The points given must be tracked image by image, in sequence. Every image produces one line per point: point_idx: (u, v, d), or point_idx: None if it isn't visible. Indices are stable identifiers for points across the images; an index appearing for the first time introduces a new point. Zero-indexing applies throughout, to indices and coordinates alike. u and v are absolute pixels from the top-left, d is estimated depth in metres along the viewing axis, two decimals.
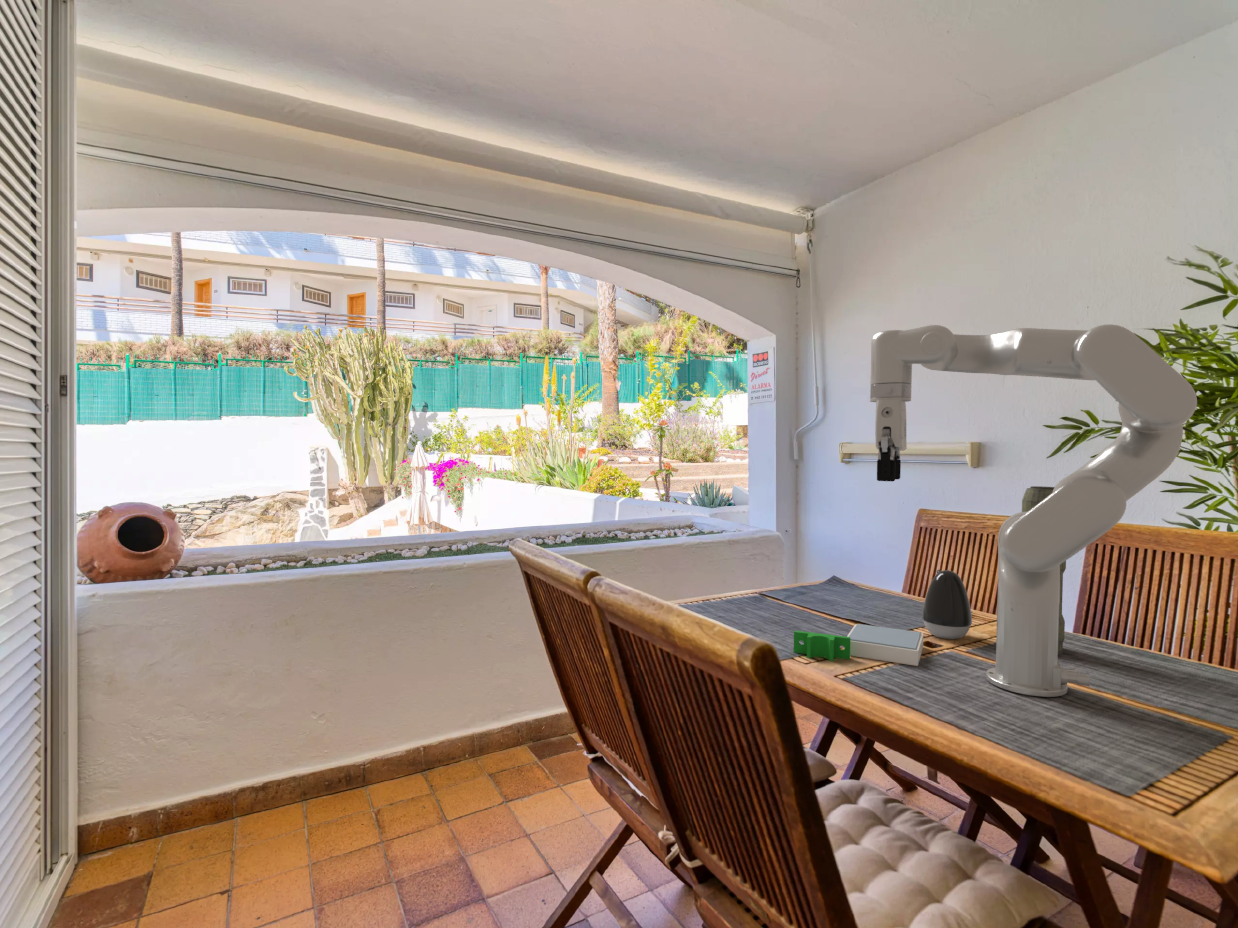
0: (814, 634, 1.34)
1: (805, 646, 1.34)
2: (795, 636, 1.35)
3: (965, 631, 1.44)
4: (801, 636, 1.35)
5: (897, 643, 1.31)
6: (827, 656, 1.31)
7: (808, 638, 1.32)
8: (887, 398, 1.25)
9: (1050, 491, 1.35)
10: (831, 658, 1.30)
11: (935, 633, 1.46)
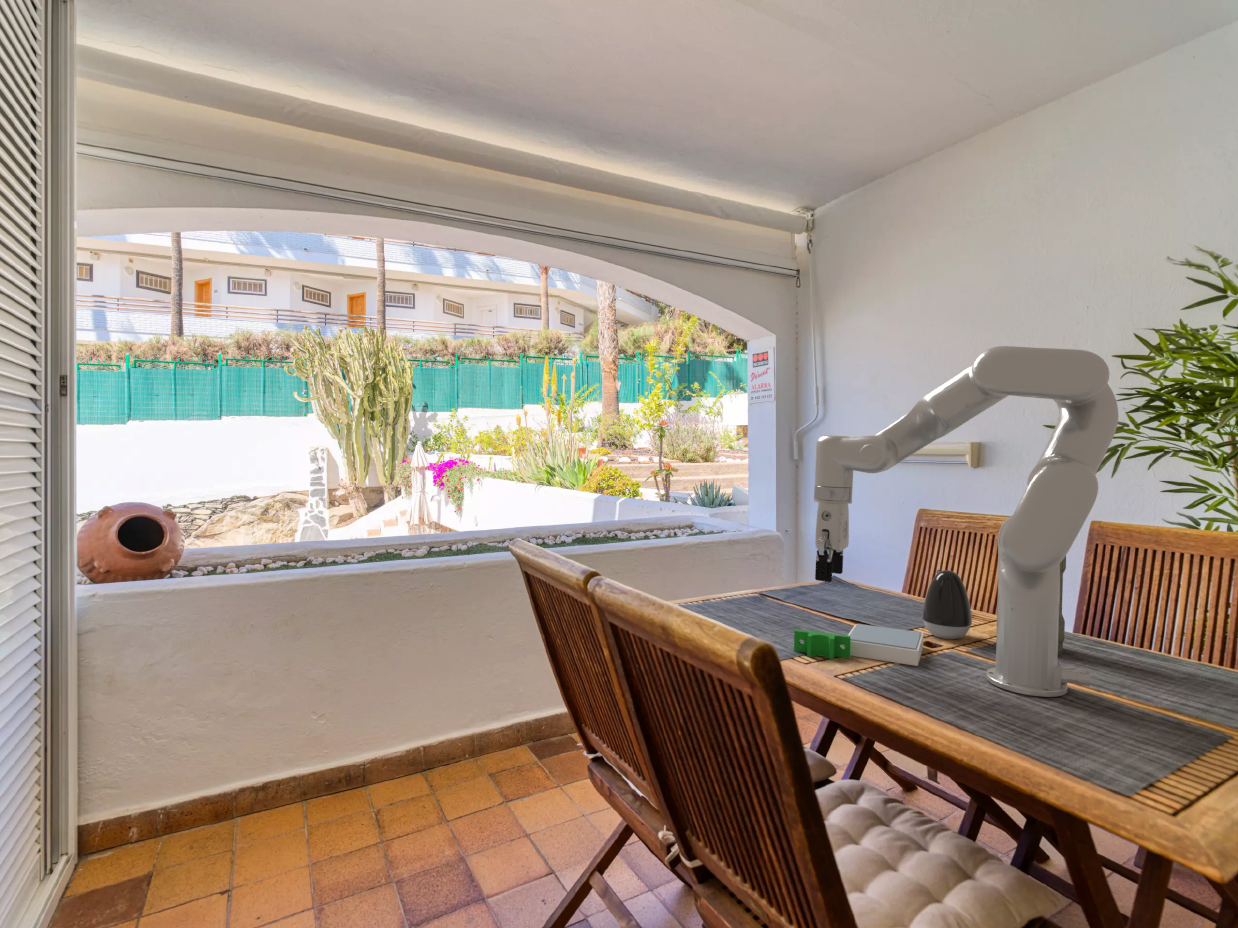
0: (814, 633, 1.34)
1: (805, 645, 1.35)
2: (795, 635, 1.36)
3: (965, 631, 1.44)
4: (802, 635, 1.35)
5: (897, 643, 1.31)
6: (827, 655, 1.32)
7: (808, 637, 1.32)
8: (827, 501, 1.30)
9: None
10: (831, 657, 1.31)
11: (935, 633, 1.46)
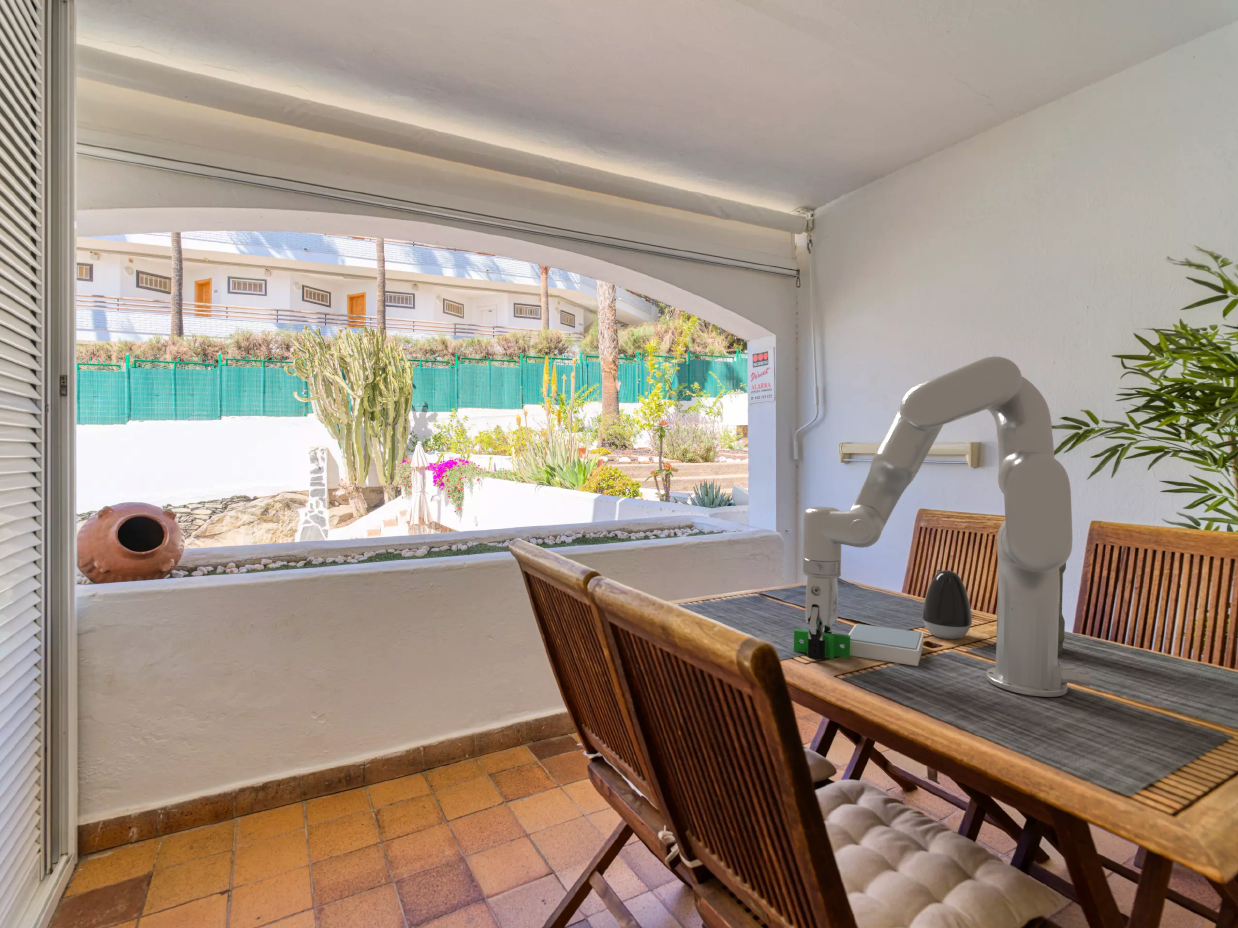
0: None
1: (805, 645, 1.35)
2: (795, 635, 1.36)
3: (965, 631, 1.44)
4: (802, 635, 1.35)
5: (897, 643, 1.31)
6: (827, 654, 1.32)
7: None
8: (816, 575, 1.29)
9: None
10: (831, 657, 1.31)
11: (935, 633, 1.46)
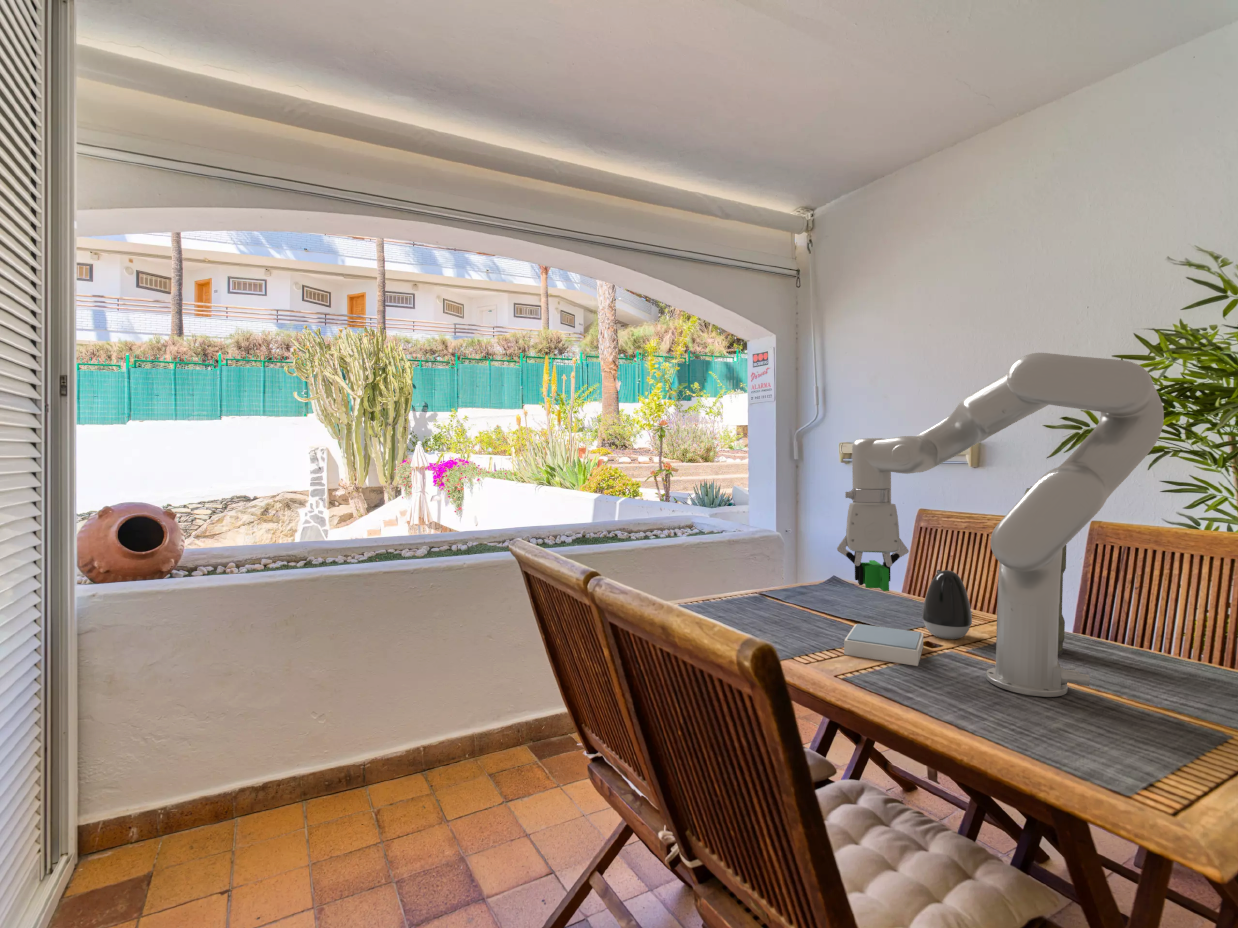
0: (873, 563, 1.36)
1: None
2: None
3: (965, 631, 1.44)
4: None
5: (897, 643, 1.31)
6: None
7: None
8: None
9: None
10: (865, 584, 1.33)
11: (935, 633, 1.46)
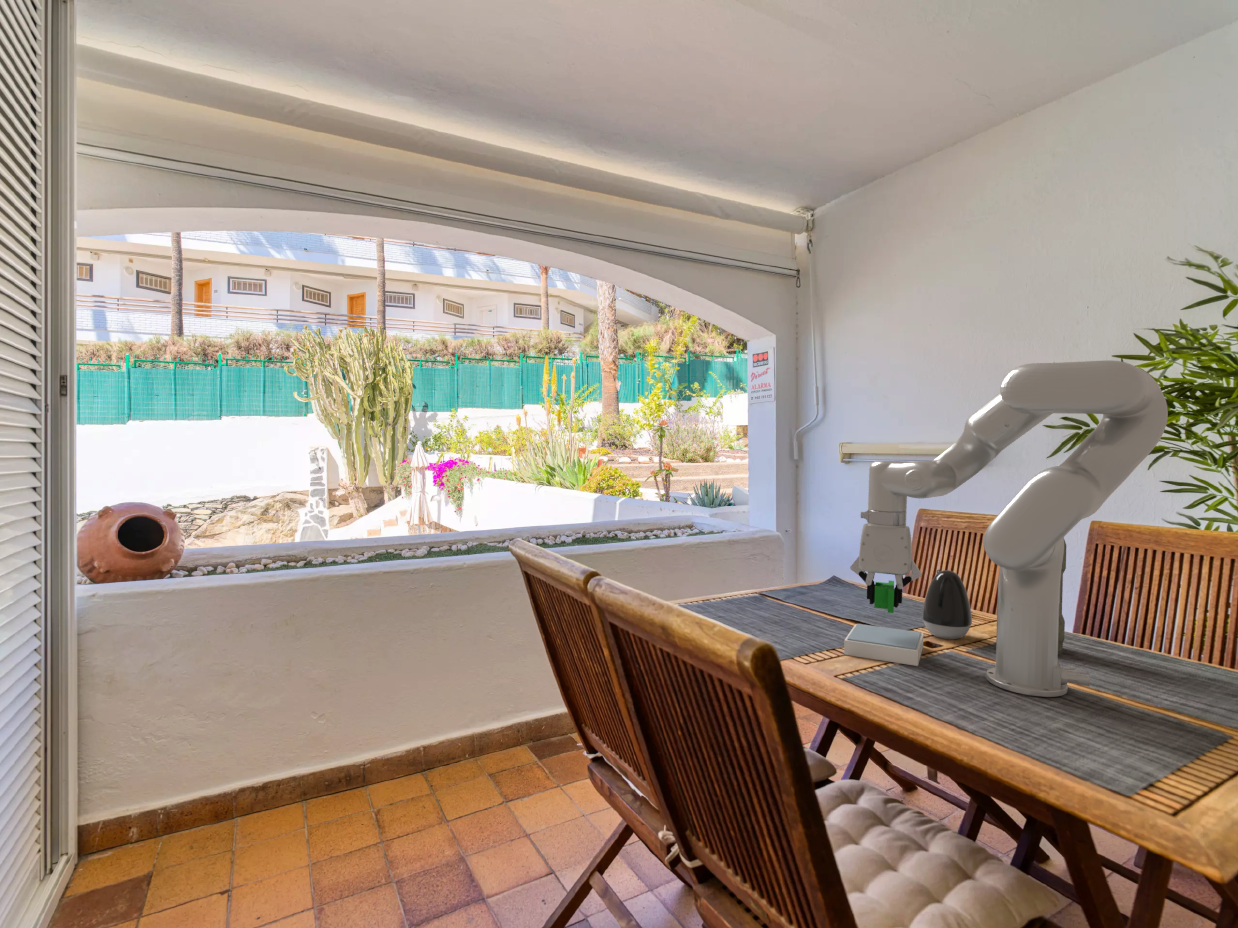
0: (887, 584, 1.38)
1: None
2: None
3: (965, 631, 1.44)
4: None
5: (897, 643, 1.31)
6: None
7: None
8: None
9: None
10: None
11: (935, 633, 1.46)
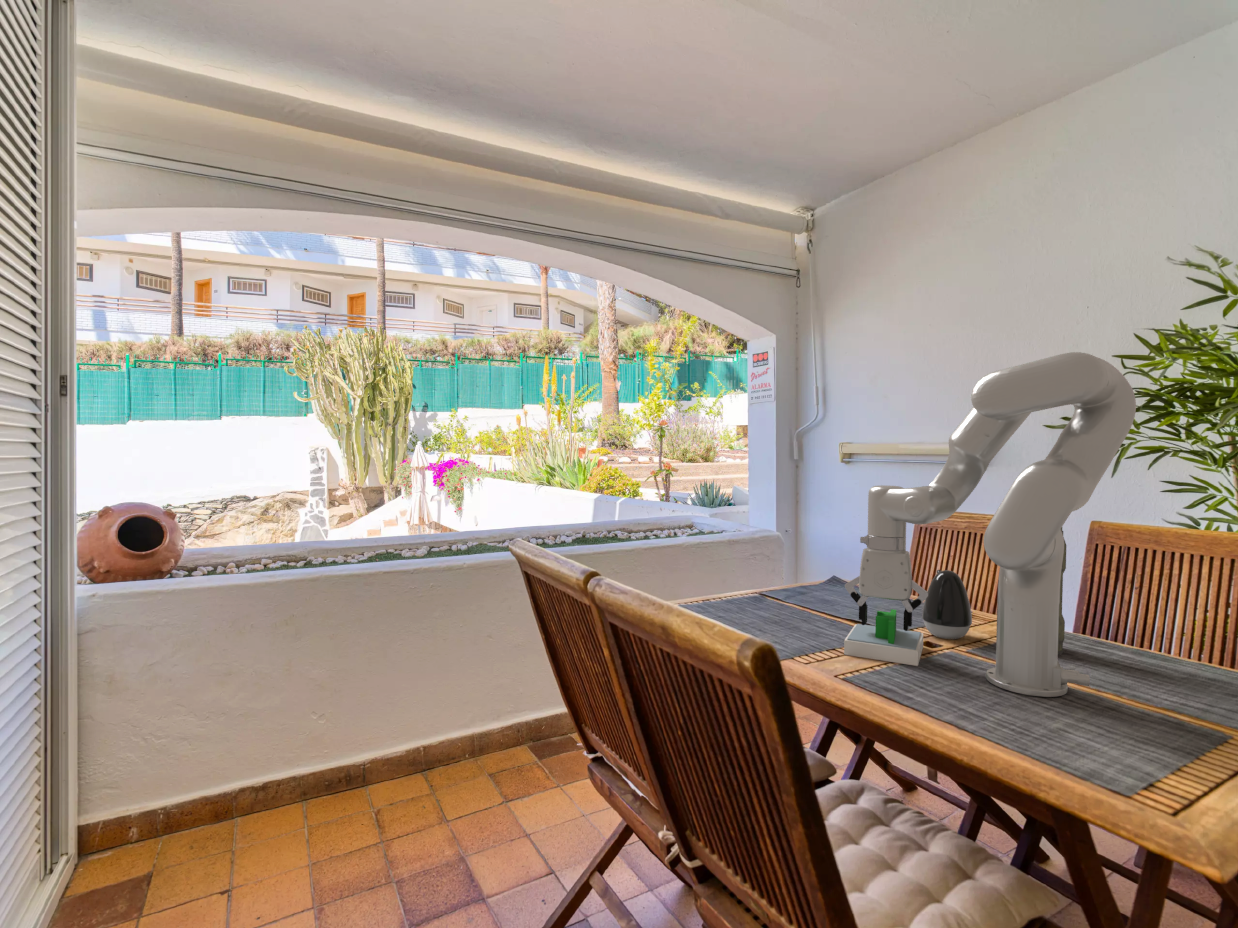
0: (889, 613, 1.37)
1: None
2: None
3: (965, 631, 1.44)
4: None
5: (897, 643, 1.31)
6: None
7: (877, 612, 1.39)
8: None
9: None
10: None
11: (935, 633, 1.46)
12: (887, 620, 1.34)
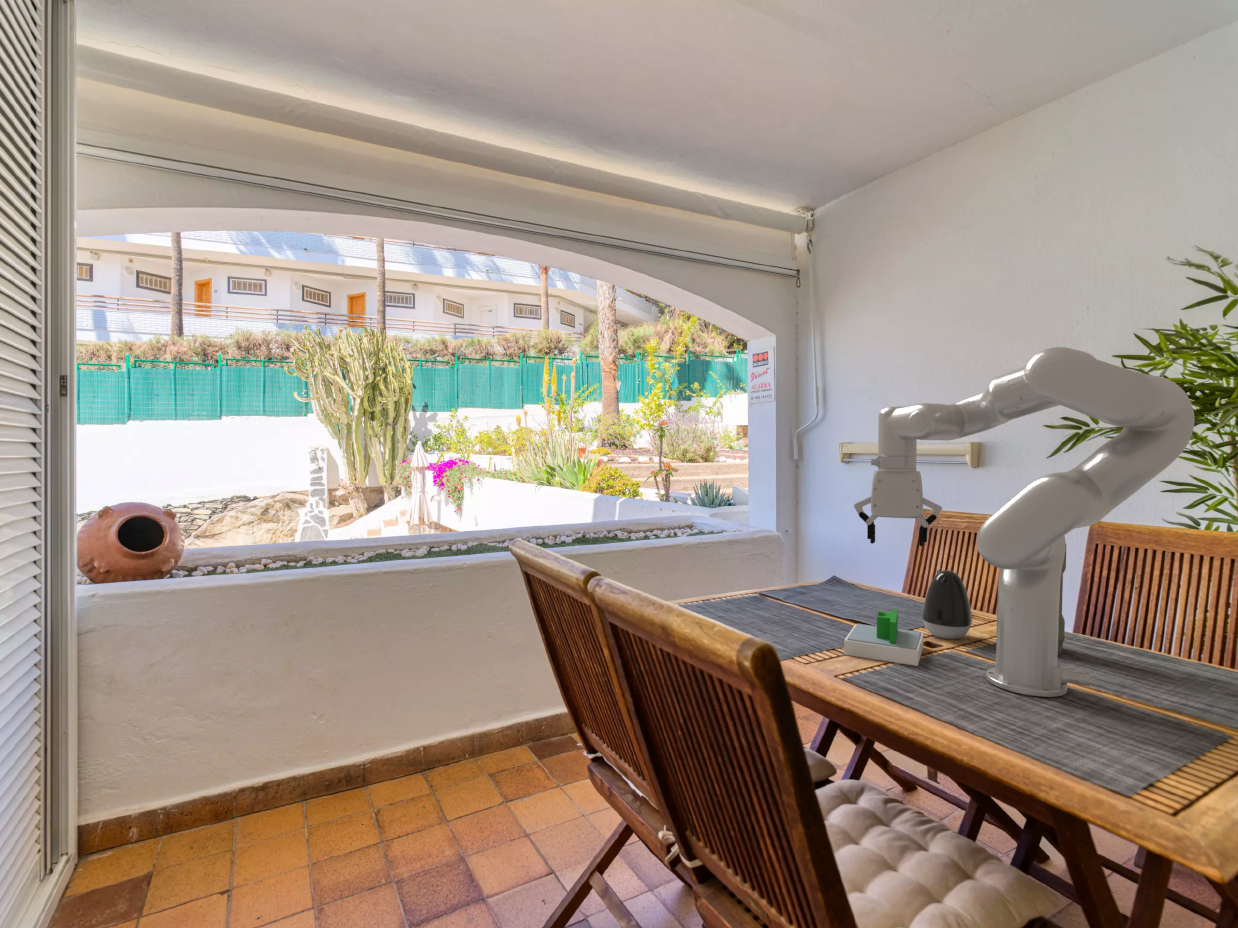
0: (890, 613, 1.37)
1: None
2: None
3: (965, 631, 1.44)
4: None
5: (897, 643, 1.31)
6: None
7: None
8: None
9: None
10: None
11: (935, 633, 1.46)
12: (888, 620, 1.34)
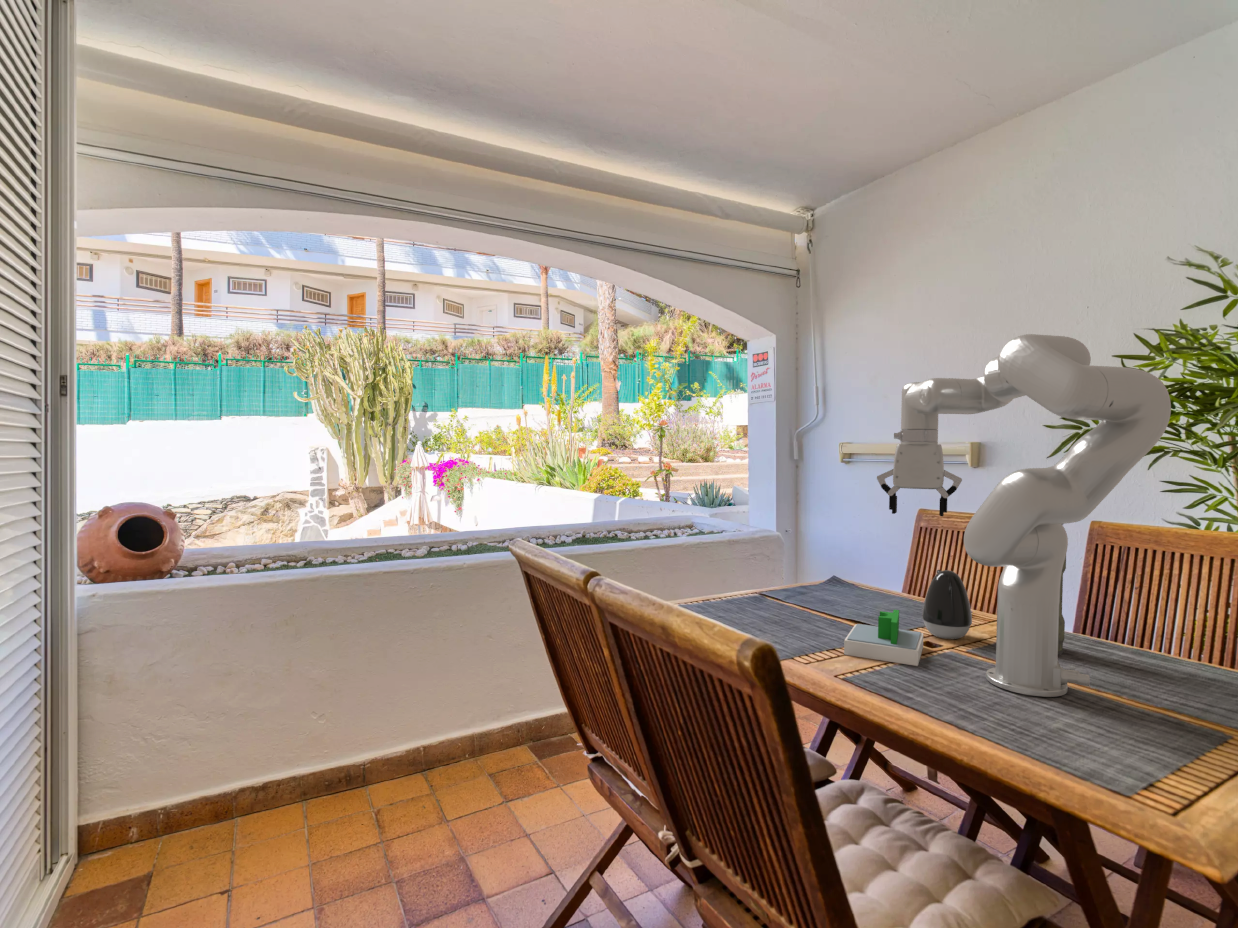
0: (892, 613, 1.37)
1: None
2: None
3: (965, 631, 1.44)
4: None
5: (897, 643, 1.31)
6: None
7: None
8: None
9: None
10: None
11: (935, 633, 1.46)
12: (890, 620, 1.34)
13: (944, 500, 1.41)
